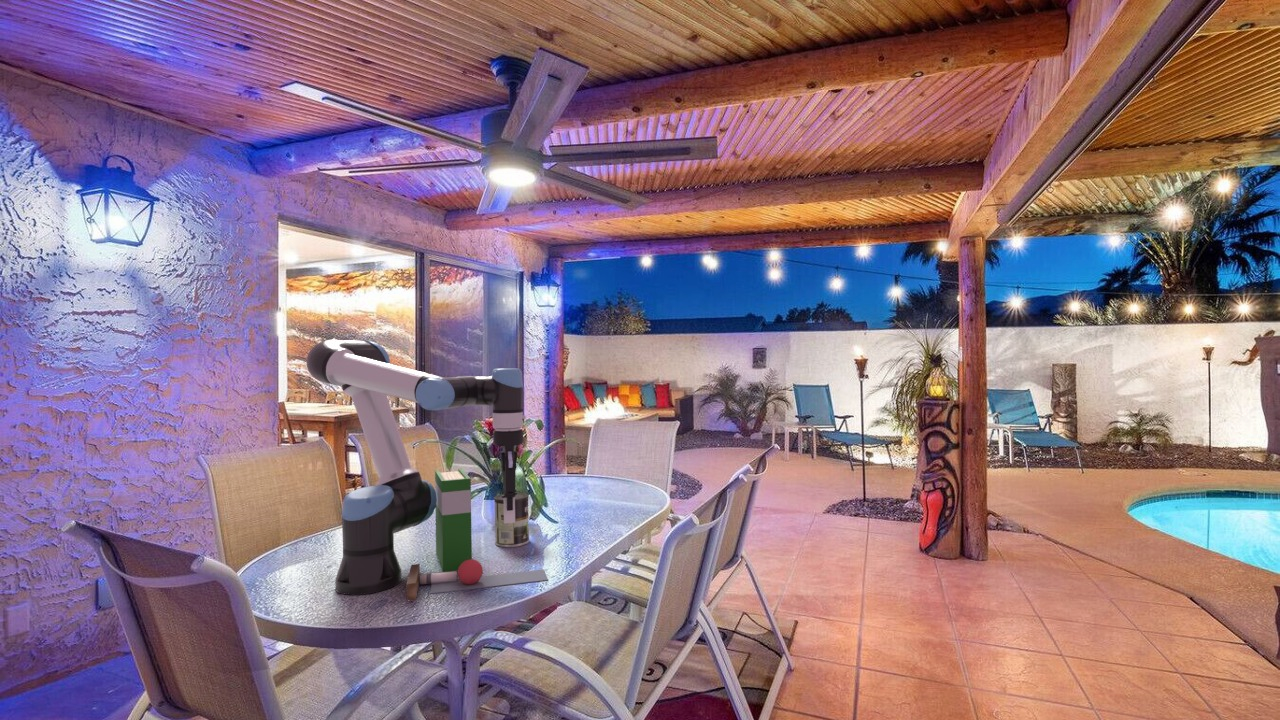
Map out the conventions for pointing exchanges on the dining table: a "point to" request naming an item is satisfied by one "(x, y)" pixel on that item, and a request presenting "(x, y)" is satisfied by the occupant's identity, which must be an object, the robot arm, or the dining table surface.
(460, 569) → the ball
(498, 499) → the coffee can
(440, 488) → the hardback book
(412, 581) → the stopper wall
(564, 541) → the dining table surface
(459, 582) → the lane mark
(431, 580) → the pin
